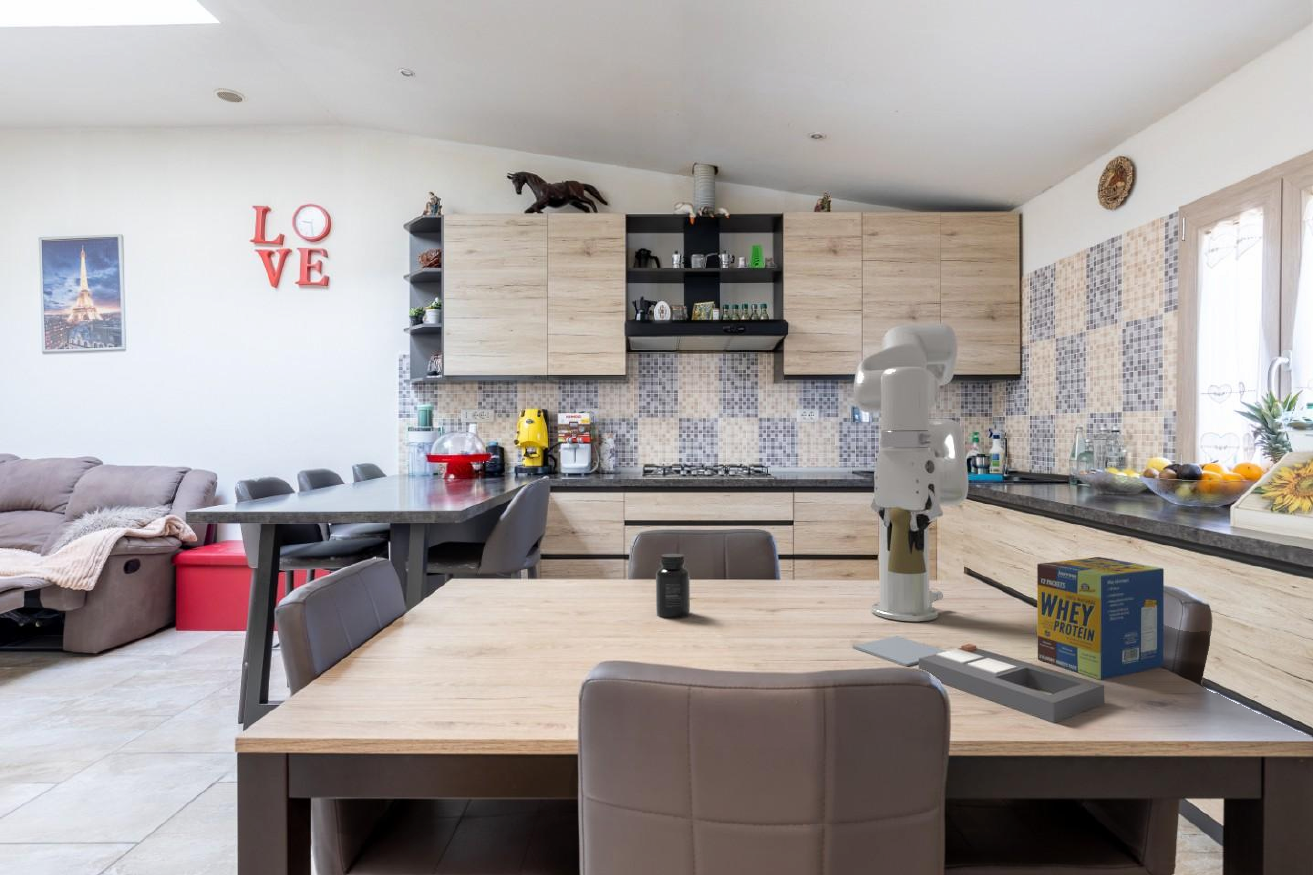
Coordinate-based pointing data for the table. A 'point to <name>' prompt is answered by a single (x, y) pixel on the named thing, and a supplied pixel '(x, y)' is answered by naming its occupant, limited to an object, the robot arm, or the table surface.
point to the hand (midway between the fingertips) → (905, 551)
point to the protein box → (1100, 616)
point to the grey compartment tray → (1014, 682)
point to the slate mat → (898, 650)
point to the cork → (903, 545)
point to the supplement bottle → (672, 587)
